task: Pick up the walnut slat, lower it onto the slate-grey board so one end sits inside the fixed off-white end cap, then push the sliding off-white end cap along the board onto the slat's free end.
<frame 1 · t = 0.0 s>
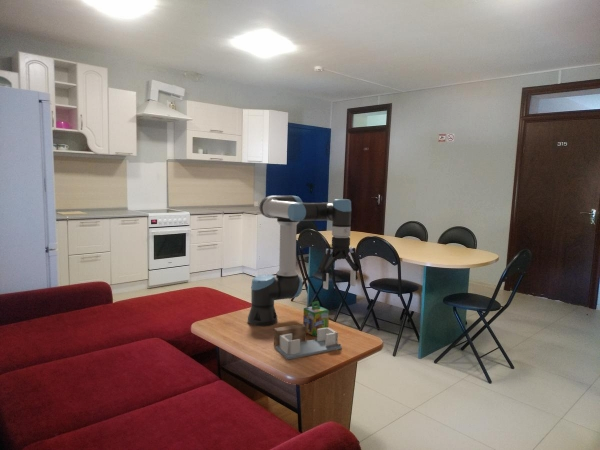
hand: (339, 287, 167), 28 cm above the table, fingers open, 13 cm apart
chalk box: (315, 332, 192), on the table
end cap B: (327, 336, 176), point 4 cm above the table, slide at 0.0 cm
slat: (289, 342, 179), on the table
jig: (308, 348, 172), on the table
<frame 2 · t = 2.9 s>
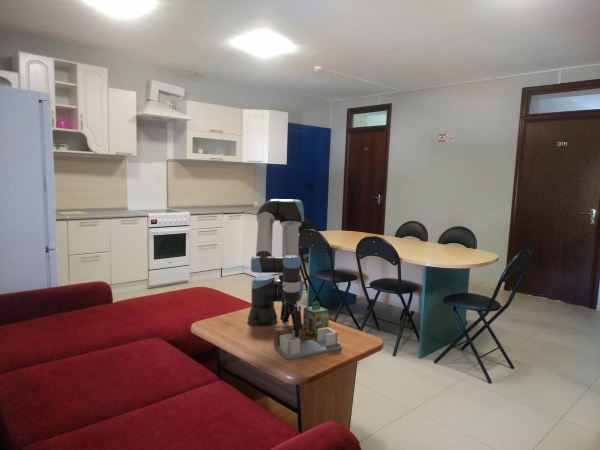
hand: (290, 340, 178), 1 cm above the table, fingers open, 9 cm apart
nothing on the table moved.
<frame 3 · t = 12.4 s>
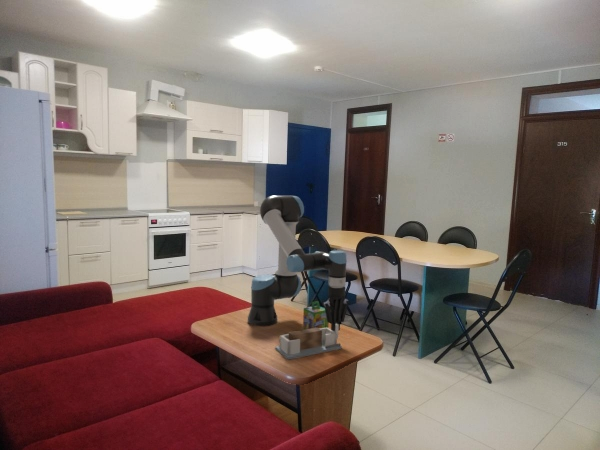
hand: (335, 337, 179), 3 cm above the table, fingers closed
end cap B: (326, 336, 176), point 4 cm above the table, slide at 0.4 cm, touching gripper
slat: (305, 347, 171), point 1 cm above the table, touching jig
everything else where it was.
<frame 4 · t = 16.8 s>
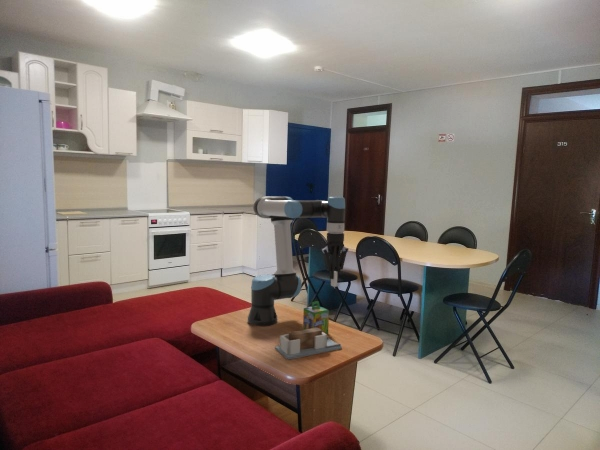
hand: (333, 285, 176), 26 cm above the table, fingers closed
end cap B: (316, 338, 174), point 4 cm above the table, slide at 5.5 cm
everything else where it was.
at the end: end cap B slide at 5.5 cm; slat 0.1 cm from the target spot, point 1.0 cm above the table; slat tilted 0° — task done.
